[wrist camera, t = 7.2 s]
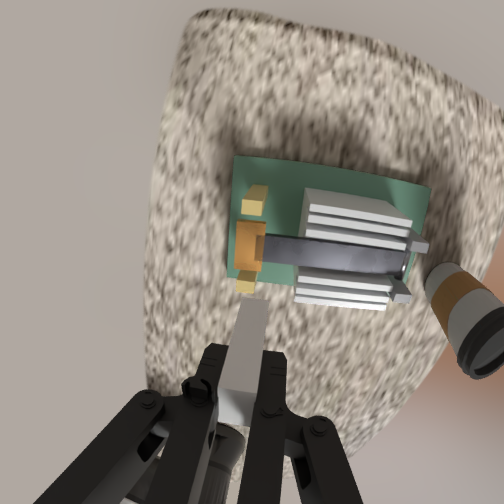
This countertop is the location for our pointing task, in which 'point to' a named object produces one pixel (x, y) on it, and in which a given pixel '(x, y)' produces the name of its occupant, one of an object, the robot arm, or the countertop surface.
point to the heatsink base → (327, 225)
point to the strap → (313, 252)
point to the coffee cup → (468, 318)
